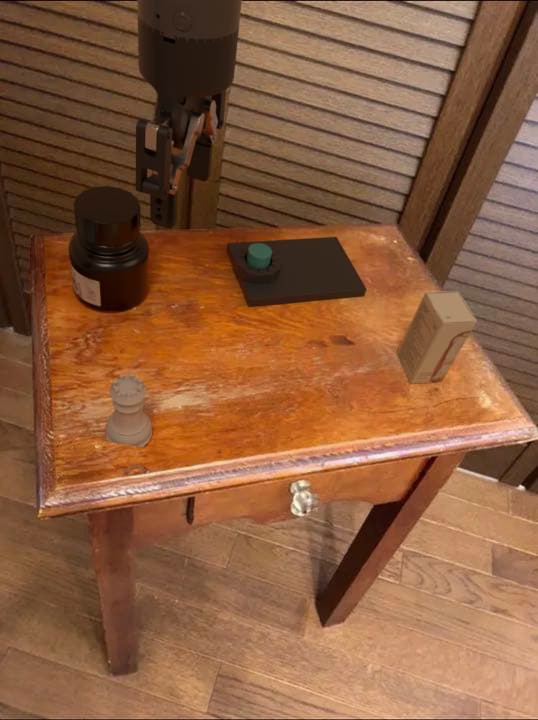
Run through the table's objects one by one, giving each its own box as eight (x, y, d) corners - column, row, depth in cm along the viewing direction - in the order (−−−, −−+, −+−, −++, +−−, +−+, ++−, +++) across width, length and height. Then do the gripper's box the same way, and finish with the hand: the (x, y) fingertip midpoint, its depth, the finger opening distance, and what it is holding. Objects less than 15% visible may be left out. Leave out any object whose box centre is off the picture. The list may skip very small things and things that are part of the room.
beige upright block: (443, 382, 70) (479, 323, 62) (409, 384, 68) (442, 324, 61) (427, 350, 73) (459, 289, 65) (394, 351, 72) (424, 290, 64)
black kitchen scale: (244, 308, 72) (248, 290, 70) (223, 251, 79) (225, 233, 77) (363, 297, 78) (370, 279, 75) (334, 244, 84) (339, 227, 82)
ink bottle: (70, 264, 72) (60, 178, 64) (142, 260, 75) (142, 177, 66) (76, 320, 67) (66, 234, 58) (154, 313, 69) (156, 230, 60)
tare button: (250, 269, 73) (252, 258, 72) (243, 254, 75) (245, 243, 74) (272, 268, 74) (275, 257, 73) (265, 253, 76) (268, 242, 75)
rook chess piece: (100, 422, 58) (96, 370, 52) (145, 411, 60) (145, 360, 54) (111, 459, 56) (108, 409, 50) (157, 447, 57) (159, 397, 52)
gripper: (179, -25, 48) (174, 154, 61) (96, 30, 39) (109, 229, 51) (265, -2, 48) (242, 174, 60) (202, 60, 38) (190, 255, 50)
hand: (181, 200), depth 55 cm, fingers open, 8 cm apart
